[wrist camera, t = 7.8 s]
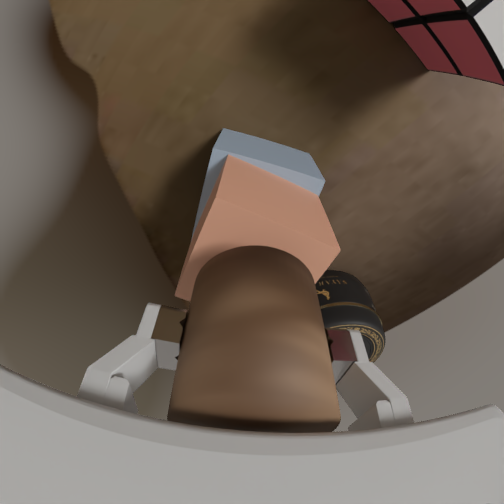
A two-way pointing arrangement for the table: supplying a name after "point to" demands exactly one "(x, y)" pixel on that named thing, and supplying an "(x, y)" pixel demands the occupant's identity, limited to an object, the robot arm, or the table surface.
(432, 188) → the table surface
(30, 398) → the robot arm
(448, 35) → the puzzle cube
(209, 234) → the top block
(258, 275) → the walnut cylinder
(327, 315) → the jar
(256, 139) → the base block
